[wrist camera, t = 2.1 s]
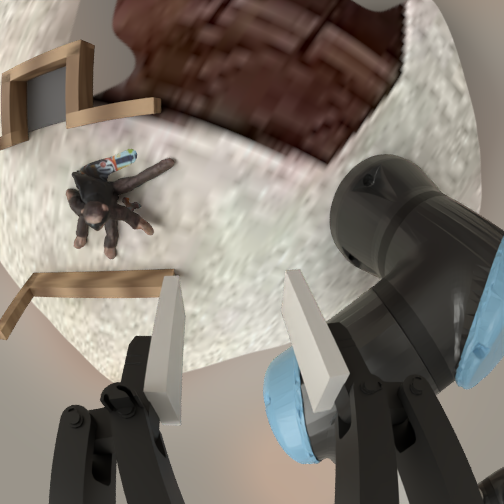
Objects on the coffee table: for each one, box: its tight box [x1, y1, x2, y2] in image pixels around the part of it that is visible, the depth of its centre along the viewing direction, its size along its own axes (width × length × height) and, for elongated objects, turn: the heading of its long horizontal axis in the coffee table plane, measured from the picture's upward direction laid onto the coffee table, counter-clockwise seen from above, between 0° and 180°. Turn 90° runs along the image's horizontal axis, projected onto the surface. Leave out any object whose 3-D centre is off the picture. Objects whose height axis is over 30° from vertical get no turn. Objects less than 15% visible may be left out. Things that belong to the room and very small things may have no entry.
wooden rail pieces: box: [0, 40, 175, 340], centre depth 19 cm, size 22×28×12 cm
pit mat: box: [27, 66, 66, 132], centre depth 19 cm, size 7×6×1 cm
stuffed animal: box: [66, 149, 174, 259], centre depth 26 cm, size 12×10×12 cm
